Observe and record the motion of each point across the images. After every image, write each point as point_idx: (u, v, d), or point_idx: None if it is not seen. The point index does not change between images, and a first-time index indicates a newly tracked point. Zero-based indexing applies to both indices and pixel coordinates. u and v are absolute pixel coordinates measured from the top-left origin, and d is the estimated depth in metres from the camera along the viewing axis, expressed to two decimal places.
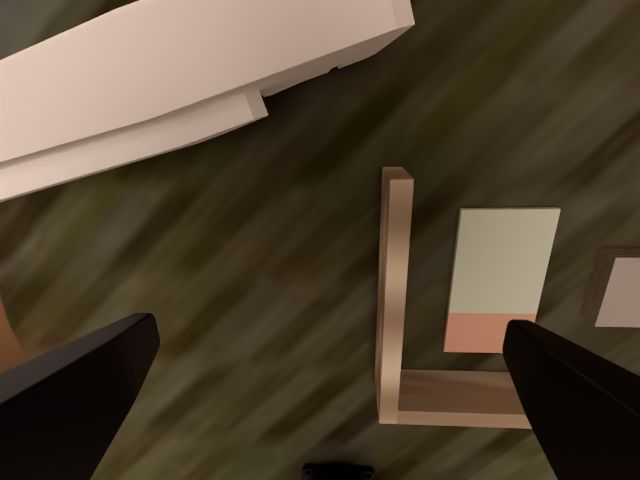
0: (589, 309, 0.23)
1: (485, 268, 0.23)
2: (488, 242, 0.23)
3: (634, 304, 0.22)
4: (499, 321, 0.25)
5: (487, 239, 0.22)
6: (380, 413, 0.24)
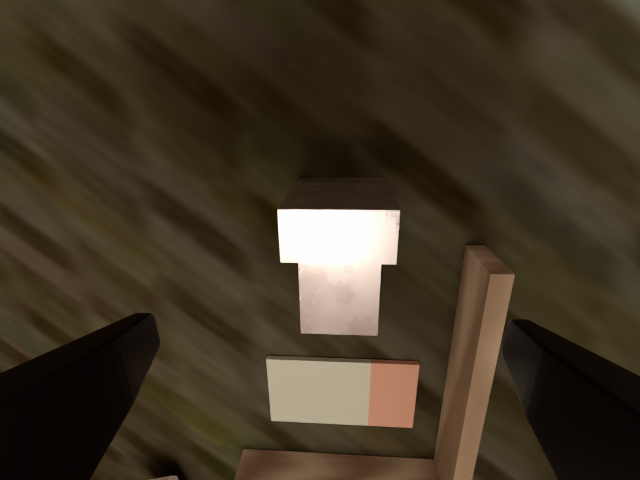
0: None
1: (322, 403, 0.26)
2: (298, 402, 0.27)
3: (351, 308, 0.22)
4: (379, 389, 0.26)
5: (295, 403, 0.27)
6: None
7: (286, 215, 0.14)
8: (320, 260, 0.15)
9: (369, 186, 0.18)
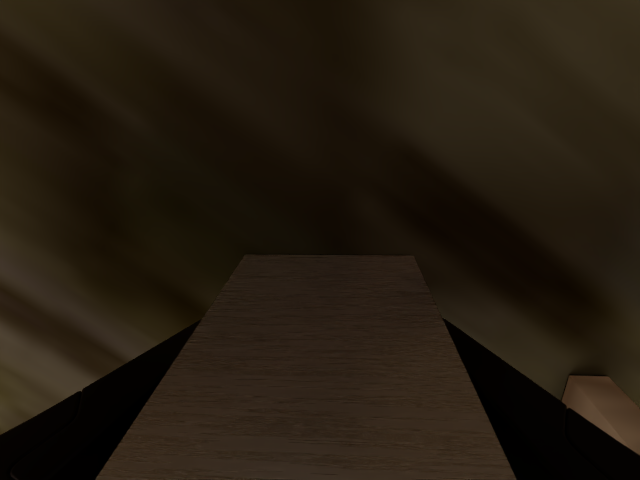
0: None
1: None
2: None
3: None
4: None
5: None
6: None
7: None
8: None
9: (391, 299, 0.08)
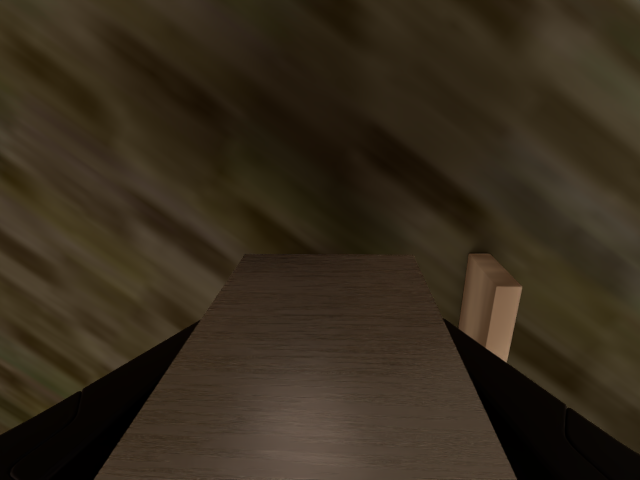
0: None
1: None
2: None
3: None
4: None
5: None
6: None
7: None
8: None
9: (391, 298, 0.08)
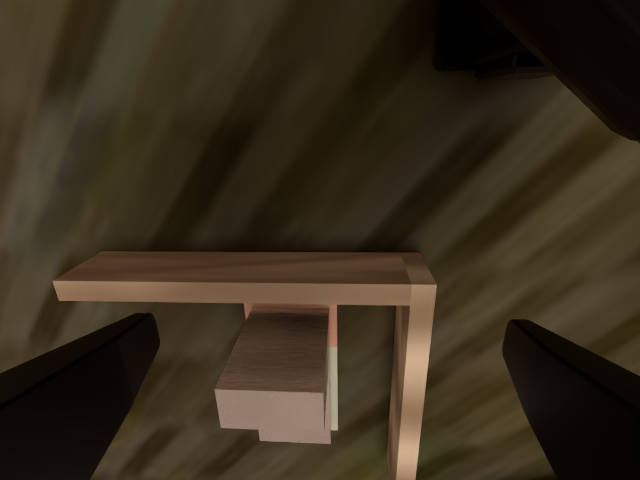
0: None
1: None
2: None
3: None
4: None
5: None
6: (433, 299, 0.17)
7: (223, 394, 0.16)
8: (256, 427, 0.17)
9: (311, 331, 0.20)
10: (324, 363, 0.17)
